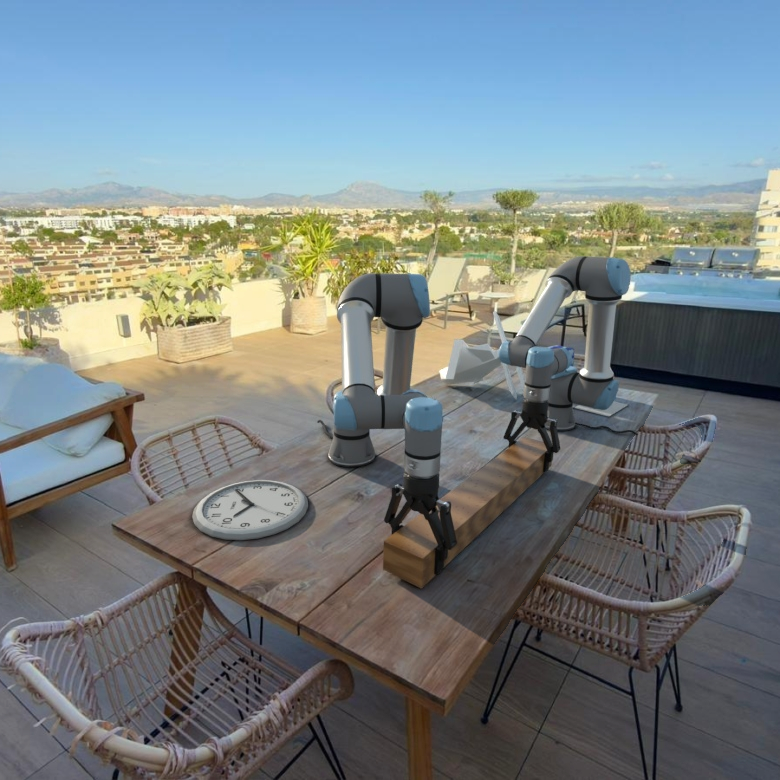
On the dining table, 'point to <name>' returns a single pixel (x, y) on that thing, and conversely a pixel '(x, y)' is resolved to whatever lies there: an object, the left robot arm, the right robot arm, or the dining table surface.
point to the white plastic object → (477, 362)
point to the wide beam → (465, 511)
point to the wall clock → (250, 510)
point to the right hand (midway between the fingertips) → (528, 465)
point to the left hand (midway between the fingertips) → (418, 561)
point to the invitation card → (608, 412)
